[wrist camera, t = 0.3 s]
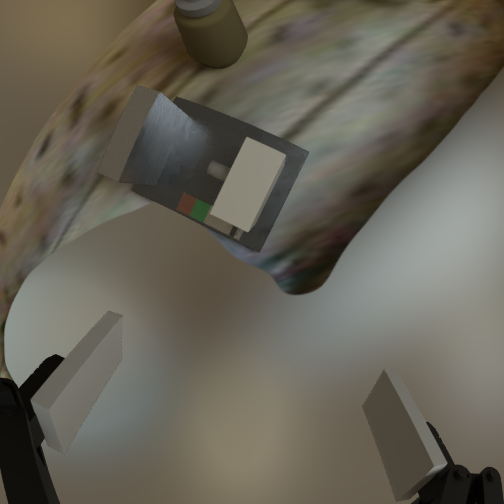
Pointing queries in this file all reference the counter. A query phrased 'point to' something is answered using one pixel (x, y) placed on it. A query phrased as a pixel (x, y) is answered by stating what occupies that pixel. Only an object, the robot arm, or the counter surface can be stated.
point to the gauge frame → (191, 159)
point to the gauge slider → (246, 184)
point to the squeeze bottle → (211, 31)
